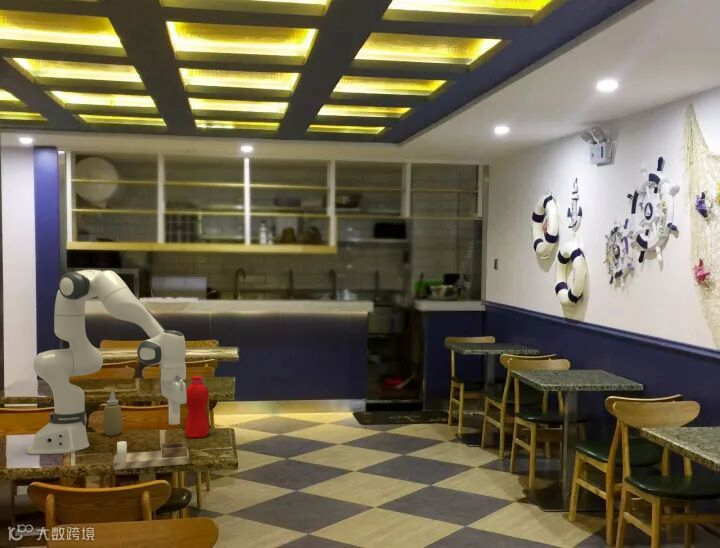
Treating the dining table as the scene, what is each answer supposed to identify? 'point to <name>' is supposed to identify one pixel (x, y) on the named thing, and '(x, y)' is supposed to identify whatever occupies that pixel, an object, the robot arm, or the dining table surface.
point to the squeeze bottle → (112, 417)
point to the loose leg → (173, 417)
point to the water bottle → (197, 409)
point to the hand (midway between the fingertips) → (174, 412)
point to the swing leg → (121, 451)
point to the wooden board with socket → (155, 457)
